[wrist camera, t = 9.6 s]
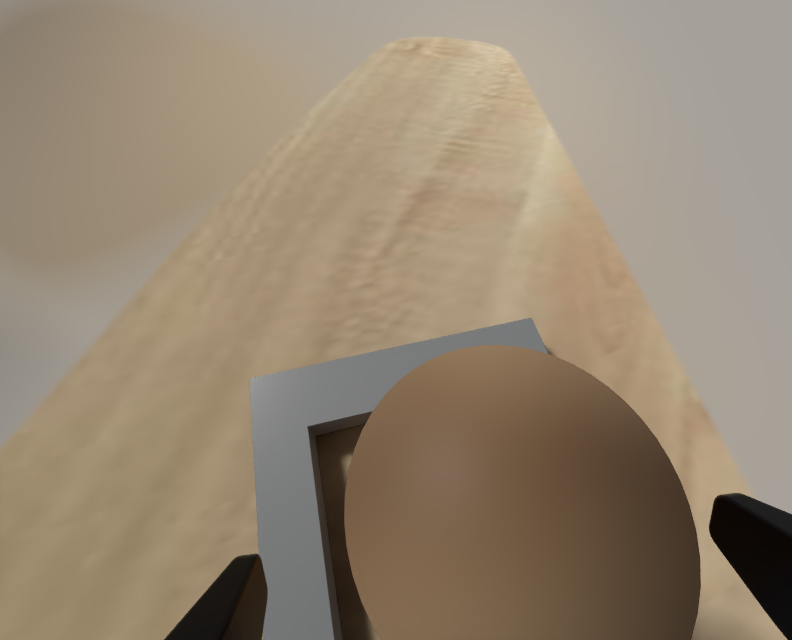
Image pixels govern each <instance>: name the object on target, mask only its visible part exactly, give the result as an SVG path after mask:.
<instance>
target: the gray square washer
mask: <svg viewBox="0 0 792 640" xmlns="http://www.w3.org/2000/svg"><path fill="white" fill-rule="evenodd" d="M480 345H506V346H517V347H522V348H527V349H532V350H537V351H540V352H543V353H546V354H548V352H547V350H546V348H545V345H544V343H543V341H542V339H541V337H540V335H539V333H538V331H537V329H536V326H535V324H534V322H533V320H532V318H528V319H523V320H519V321H514V322H509V323H505V324H500V325H495V326H491V327H486V328H482V329H477V330H472V331H468V332H463V333H458V334H454V335H449V336H444V337H440V338H435V339H431V340H426V341H421V342H417V343H412V344H407V345H403V346H398V347H393V348H389V349H384V350H380V351H375V352H370V353H366V354H361V355H356V356H352V357H347V358H342V359H338V360H333V361H329V362H324V363H319V364H315V365H310V366H305V367H301V368H296V369H292V370H287V371H282V372H278V373H273V374H268V375H264V376H259V377H254V378H250V379H249V380H250V398H251V416H252V434H253V453H254V471H255V489H256V508H257V526H258V544H259V556H260V557H261V560H262V564H263V569H264V573H265V578H266V582H267V588H268V598H267V606H266V613H265V620H264V626H263V636H264V640H342V633H341V625H340V618H339V610H338V603H337V595H336V588H335V580H334V573H333V565H332V558H331V550H330V543H329V535H328V528H327V520H326V513H325V505H324V498H323V490H322V483H321V475H320V468H319V460H318V453H317V445H316V438H315V436H316V435H320V434H324V433H329V432H333V431H337V430H341V429H345V428H350V427H354V426H358V425H362V424H366V422H367V420H368V419H369V417H370V415H371V413H372V412H373V410H374V409H375V407H376V406H377V405H378V403H379V402H380V401H381V399H382V398H383V397H384V395H385V394H386V393H387V392H388V391H389V390H390V389H391V388H392V387H393V386H394V385H395V384H396V383H397V382H398V381H399V380H400V379H402V378H403V377H404V376H405V375H407V374H408V373H409V372H411V371H412V370H413V369H415V368H417V367H418V366H420V365H422V364H423V363H425V362H427V361H428V360H431V359H433V358H435V357H437V356H440V355H442V354H444V353H448V352H451V351H455V350H458V349H462V348H467V347H474V346H480Z"/></svg>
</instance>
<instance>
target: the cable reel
mask: <svg viewBox="0 0 792 640" xmlns="http://www.w3.org/2000/svg"><path fill="white" fill-rule="evenodd" d="M344 524H345V535H346V546H347V552H348V556H349V561H350V566H351V571H352V575H353V578H354V581H355V584H356V587H357V590H358V593H359V596H360V599H361V602H362V604H363V606H364V608H365V611H366V613H367V615H368V617H369V619H370V621H371V623H372V625H373V627H374V630H375V631H376V633H377V634H378V636H379V637H380V639H381V640H691V638H692V634H693V630H694V626H695V622H696V618H697V614H698V605H699V596H700V587H701V580H700V554H699V547H698V540H697V533H696V529H695V525H694V521H693V517H692V513H691V509H690V505H689V503H688V500H687V497H686V495H685V492H684V489H683V487H682V484H681V481H680V479H679V477H678V475H677V473H676V471H675V469H674V467H673V465H672V463H671V461H670V459H669V458H668V456H667V454H666V453H665V451H664V450H663V448H662V446H661V445H660V443H659V442H658V440H657V438H656V437H655V436H654V434H653V433H652V432H651V431H650V429H649V428H648V427H647V425H646V424H645V423H644V421H643V420H642V419H641V418H640V417H639V416H638V415H637V414H636V412H635V411H634V410H633V409H632V408H631V407H630V406H629V405H628V404H627V403H626V402H625V401H624V400H623V399H622V398H620V397H619V396H618V395H617V394H616V393H615V392H614V391H612V390H611V389H610V388H609V387H608V386H606V385H605V384H603V383H602V382H601V381H599V380H598V379H596V378H595V377H594V376H592V375H591V374H589V373H587V372H586V371H584V370H582V369H580V368H579V367H577V366H575V365H573V364H571V363H569V362H567V361H564V360H562V359H560V358H557V357H555V356H552V355H549V354H546V353H543V352H540V351H537V350H532V349H527V348H522V347H517V346H506V345H480V346H474V347H467V348H462V349H458V350H455V351H451V352H448V353H444V354H442V355H440V356H437V357H435V358H433V359H431V360H428V361H427V362H425V363H423V364H422V365H420V366H418V367H417V368H415V369H413V370H412V371H411V372H409V373H408V374H407V375H405V376H404V377H403V378H402V379H400V380H399V381H398V382H397V383H396V384H395V385H394V386H393V387H392V388H391V389H390V390H389V391H388V392H387V393H386V394H385V395H384V397H383V398H382V399H381V401H380V402H379V403H378V405H377V406H376V407H375V409H374V410H373V412H372V413H371V415H370V417H369V419H368V420H367V422H366V424H365V426H364V428H363V429H362V432H361V434H360V437H359V439H358V442H357V444H356V447H355V449H354V452H353V456H352V460H351V463H350V467H349V471H348V477H347V484H346V491H345V509H344Z"/></svg>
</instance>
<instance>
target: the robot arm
mask: <svg viewBox="0 0 792 640" xmlns="http://www.w3.org/2000/svg"><path fill="white" fill-rule="evenodd" d="M709 532H710V535H711V537H712V539H713V541H714V542H715V544H716V545H717V547H718V548H719V549H720V551H721V552H722V553H723V555H724V556H725V557H726V559H727V560H728V561H729V563H730V564H731V565H732V567H733V568H734V570H735V571H736V572H737V574H738V575H739V576H740V578H741V579H742V580H743V582H744V583H745V584H746V586H747V587H748V588H749V590H750V591H751V593H752V594H753V595H754V597H755V598H756V599H757V601H758V602H759V603H760V605H761V606H762V607H763V609H764V610H765V612H766V613H767V614H768V615H769V617H770V618H771V619H772V621H773V622H774V623H775V625H776V626H777V627H778V628H779V630H780V631H781V632H782V633H783V635H784V636H785V637H786V638H787V639H788V640H792V514H790V513H787V512H785V511H782V510H780V509H777V508H775V507H772V506H770V505H768V504H765V503H763V502H761V501H758V500H756V499H753V498H751V497H748V496H746V495H743V494H740V493H732V494H724V495H719V496H717V497H716V498H715V500H714V504H713V509H712V514H711V519H710V524H709ZM267 598H268V588H267V582H266V578H265V573H264V569H263V564H262V560H261V557H260V556H259V555H258V554H250V555H242V556H238V557H236V558H235V559H234V560H233V561H232V562H231V563H230V564H229V565H228V566H227V567H226V569H225V570H224V571H223V572H222V573H221V574H220V576H219V577H218V578H217V579H216V580H215V581H214V583H213V584H212V585H211V586H210V587H209V588H208V589H207V591H206V592H205V593H204V594H203V595H202V596H201V598H200V599H199V600H198V601H197V602H196V603H195V605H194V606H193V607H192V608H191V609H190V610H189V611H188V613H187V614H186V615H185V616H184V617H183V618H182V620H181V621H180V622H179V623H178V624H177V625H176V627H175V628H174V629H173V630H172V631H171V632H170V633H169V635H168V636H167V637H166V638H165V639H164V640H262V633H263V626H264V620H265V613H266V606H267Z"/></svg>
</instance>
